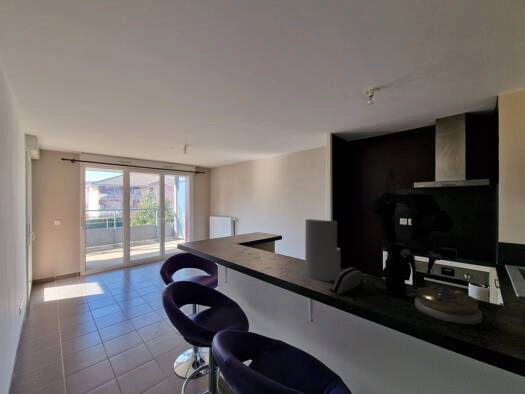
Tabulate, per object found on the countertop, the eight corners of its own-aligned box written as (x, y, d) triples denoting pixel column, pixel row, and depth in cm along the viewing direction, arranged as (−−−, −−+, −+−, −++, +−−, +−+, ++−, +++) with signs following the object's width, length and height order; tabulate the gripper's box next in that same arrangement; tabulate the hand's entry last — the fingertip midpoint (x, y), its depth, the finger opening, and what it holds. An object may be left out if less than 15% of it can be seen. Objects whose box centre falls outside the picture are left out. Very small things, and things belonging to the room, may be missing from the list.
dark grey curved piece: (348, 282, 110) (355, 263, 108) (357, 288, 107) (365, 269, 105) (328, 290, 99) (335, 269, 97) (337, 297, 96) (345, 276, 94)
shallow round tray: (420, 292, 92) (420, 273, 93) (475, 303, 82) (475, 282, 83) (415, 305, 80) (415, 284, 80) (480, 320, 70) (479, 296, 70)
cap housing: (417, 296, 94) (417, 291, 94) (479, 309, 82) (479, 303, 83) (411, 312, 80) (411, 306, 80) (485, 330, 68) (485, 323, 68)
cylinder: (325, 283, 109) (325, 221, 110) (298, 273, 123) (298, 219, 124) (347, 276, 119) (347, 220, 120) (320, 268, 133) (320, 218, 134)
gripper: (385, 229, 81) (385, 275, 81) (455, 234, 69) (456, 288, 68) (392, 227, 90) (392, 269, 89) (456, 231, 78) (457, 279, 77)
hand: (421, 275), depth 81 cm, fingers open, 3 cm apart
